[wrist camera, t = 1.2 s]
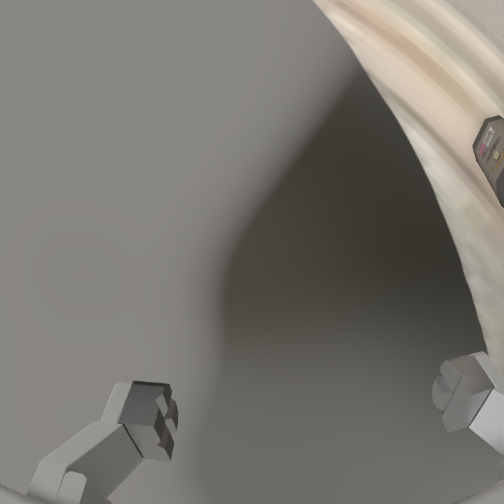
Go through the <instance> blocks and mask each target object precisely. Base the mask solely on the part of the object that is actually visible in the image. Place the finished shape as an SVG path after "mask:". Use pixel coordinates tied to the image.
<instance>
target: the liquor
mask: <svg viewBox="0 0 504 504" xmlns="http://www.w3.org/2000/svg"><path fill="white" fill-rule="evenodd" d="M473 150H474V154H475V157H476V161H477V163H478V164H479V166H480V168H481V169H482V171H483V173H484V174H485V176H486V178H487V180H488V181H489V183H490V185H491V187H492V189H493V191H494V192H495V194H496V196H497V198H498V200H499V202H500V204H501V206H502V207H503V208H504V118H502V117H501V116H499V115H498V116H495V117H491V118H488V119H485V121H484V123H483V125H482V127H481V129H480V131H479V133H478V135H477V137H476V140H475V142H474V144H473Z"/></svg>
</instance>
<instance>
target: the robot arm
mask: <svg viewBox="0 0 504 504" xmlns="http://www.w3.org/2000/svg"><path fill="white" fill-rule="evenodd" d="M440 372H441V375H440V376H439V377H438V378H437V379H436V380H435V382H434V385H433V389H432V396H433V401H434V403H435V405H436V407H437V408H439V409H440V410H442V411H443V412H442V416H441V418H442V420H443V422H444V424H445V426H446V429H447V431H448V432H452V431H455V430H459V429H462V428H465V427H468V426H469V428H470V429H471V430H473V431H474V432H475V433H476V434H477V435H479V436H480V437H481V438H482V439H484V440H485V441H486V442H487V443H489V444H490V445H491V446H493V447H494V448H495V449H496V450H498V451H499V452H500V453H501V454H502V455H504V378H503V377H502V375H501V374H500V373H499V371H498V370H497V368H496V367H495V365H494V364H493V363H492V361H491V360H490V359H489V357H488V356H487V354H486V353H484V352H479V353H474V354H471V355H466V356H463V357H458V358H454V359H450V360H446V361H445V362H444V363H443V364H442V366H441V368H440ZM171 395H172V390H171V387H170V384H166V383H155V382H144V381H132V380H122V379H119V381H117V382H116V384H115V386H114V389H113V391H112V394H111V396H110V398H109V401H108V403H107V406H106V409H105V411H104V413H103V416H102V418H101V421H98V420H96V421H94V422H93V423H92V424H90V425H89V426H88V427H86V428H85V429H84V430H82V431H81V432H79V433H78V434H77V435H75V436H74V437H72V438H71V439H70V440H68V441H67V442H66V443H64V444H63V445H61V446H60V447H59V448H57V449H56V450H54V451H53V452H52V453H50V454H49V455H47V456H46V457H44V458H43V459H42V460H41V461H40V463H39V466H38V468H37V471H36V473H35V475H34V478H33V480H32V483H31V485H30V487H29V490H28V493H27V495H25V494H22V493H20V492H18V491H16V490H14V489H11V488H9V487H7V486H5V485H3V484H1V483H0V504H113V503H112V502H111V501H110V500H109V499H108V498H107V497H108V496H109V495H110V494H111V493H112V492H113V491H114V490H115V489H116V488H117V487H118V486H119V485H120V484H121V483H122V482H123V481H124V480H125V478H127V477H128V476H129V475H130V474H131V472H132V471H133V470H134V469H135V468H136V467H137V466H138V465H139V464H140V463H141V462H142V461H143V458H145V459H155V460H167V461H171V457H172V451H173V447H174V441H173V438H172V436H171V435H172V434H174V433H175V432H176V431H177V426H178V409H177V405H176V402H175V401H174V400H173V399H171ZM496 471H497V474H498V476H499V478H500V482H497V483H495V484H493V485H492V486H489V487H488V488H485V489H483V490H481V491H479V492H477V493H474V494H472V495H470V496H468V497H465V498H463V499H461V500H458V501H456V502H453V503H451V504H504V458H503V459H502V460H501V461H500V462H499V464H498V465H497V467H496Z"/></svg>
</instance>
